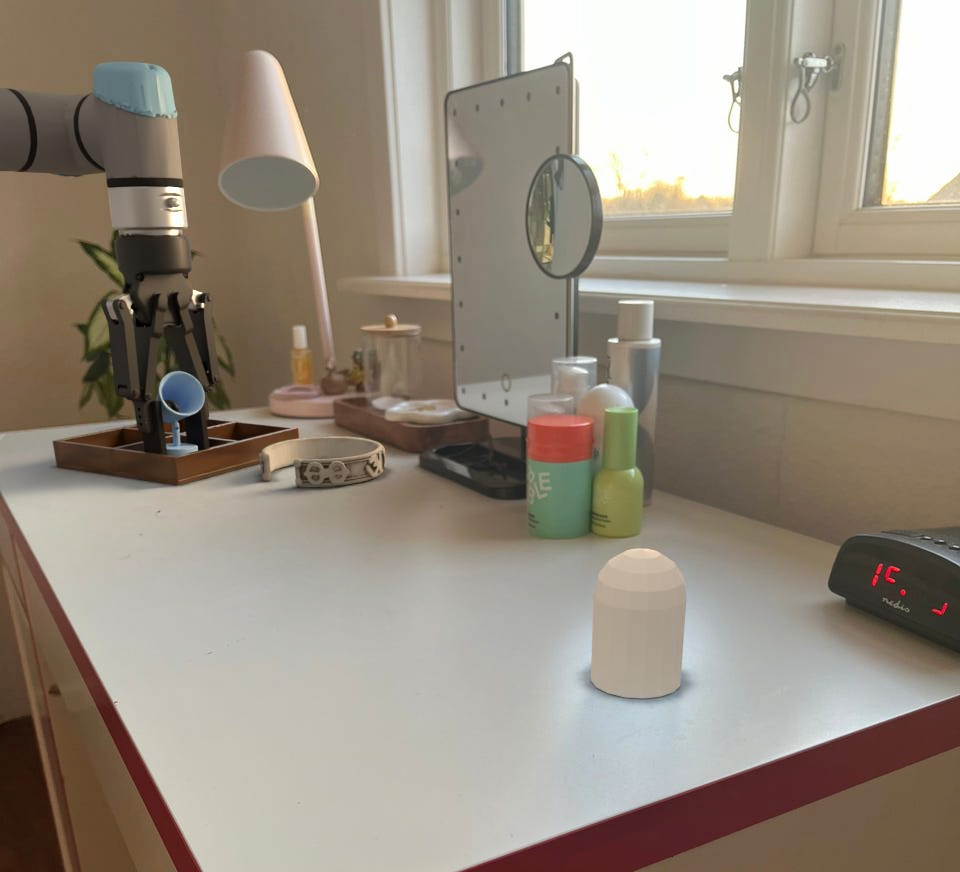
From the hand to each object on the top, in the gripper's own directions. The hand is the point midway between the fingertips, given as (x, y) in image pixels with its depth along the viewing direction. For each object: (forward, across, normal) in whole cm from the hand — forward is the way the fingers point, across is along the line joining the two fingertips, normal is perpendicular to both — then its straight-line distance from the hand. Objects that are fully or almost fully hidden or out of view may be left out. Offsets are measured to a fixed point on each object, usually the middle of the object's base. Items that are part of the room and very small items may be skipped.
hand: (178, 455), depth 115 cm
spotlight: (+1, 0, 0) cm, 1 cm away
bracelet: (+2, +7, -15) cm, 17 cm away
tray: (+2, +5, +5) cm, 7 cm away
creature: (+2, +21, +22) cm, 30 cm away
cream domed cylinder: (+2, -28, -67) cm, 73 cm away
